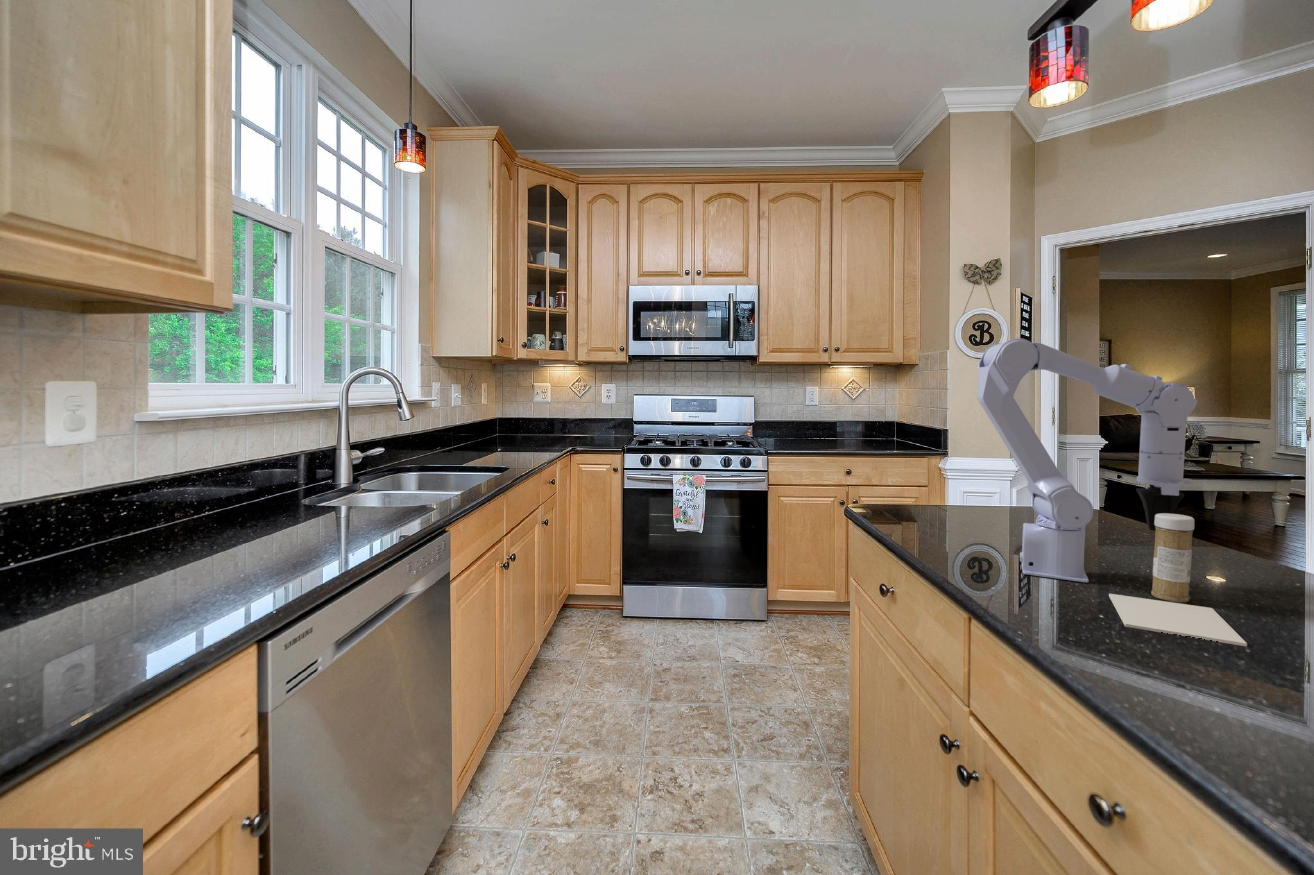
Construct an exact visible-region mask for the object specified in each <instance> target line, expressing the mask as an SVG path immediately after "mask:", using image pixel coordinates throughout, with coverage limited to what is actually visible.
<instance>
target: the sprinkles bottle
mask: <svg viewBox="0 0 1314 875" xmlns="http://www.w3.org/2000/svg"><path fill="white" fill-rule="evenodd" d="M1154 525H1155V526H1156V527H1155V528H1156V531H1155V533H1154V534H1155V535H1154V551H1153V560H1152V586H1151V587H1152V588H1151V591H1150V592H1151V593H1150V594H1151V596H1153V597H1154V598H1156V599H1158V600H1159V599H1160V600H1162V601H1166V602H1173V603H1180V604H1183V603H1187V602H1189V601H1190V596H1189V595H1190V582H1191V573H1192V572H1191V571H1192V570H1191V569H1192V555H1193V554H1192V553H1193V549H1192V545H1193V533H1194V530H1195V518H1193V516H1189V515H1184V514H1180V513H1173V514H1168V513H1160V514H1156V515H1155V523H1154Z"/></svg>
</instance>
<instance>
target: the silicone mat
mask: <svg viewBox="0 0 1314 875" xmlns="http://www.w3.org/2000/svg"><path fill="white" fill-rule="evenodd" d="M1108 597H1109V599H1110V601H1111V602H1112V604H1113V606H1114V608H1115V610H1116V612H1117V613H1118V615H1119V618H1120V619H1121V621H1122V623H1123V625H1124V627H1126V628H1132V629H1138V630H1144V631H1151V632H1156V633H1161V632H1163V633H1162V634H1167V633H1168V635H1173V634H1177V635H1176V636H1179V635H1181V636H1180V637H1185V636H1191V637H1190V638H1192V637H1195V638H1194V639H1198V638H1202V639H1201V640H1204V639H1205V640H1206V641H1210V640H1212V641H1211V642H1216V641H1218V642H1217V643H1223V644H1227V645H1229V644H1230V645H1235V646H1241V647H1248V643H1247V642H1246V641H1245V640H1244V639H1243V638H1242V636H1240V635H1239V634H1238V633H1237V632H1236V631H1235V630H1234V629H1233V628H1232V626H1230V625H1229V623H1227V621H1225V619H1223V617H1221V616H1220V615H1219V613H1217V611H1215V609H1214V608H1212V607H1207V606H1200V605H1193V604H1192V605H1191V604H1186V603H1180V602H1171V601H1167V600H1159V599H1151V598H1143V597H1136V596H1128V595H1122V594H1116V593H1108ZM1205 640H1204V641H1205Z"/></svg>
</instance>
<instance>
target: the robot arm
mask: <svg viewBox="0 0 1314 875" xmlns="http://www.w3.org/2000/svg"><path fill="white" fill-rule="evenodd" d="M1133 368H1134V366H1133V365H1130V364H1128V363H1122V364H1120V365H1119V364H1111V365H1109V366H1106V367H1101V366H1099V365H1096V364H1094V363H1091V362H1088V361H1086V360H1085V359H1082V358H1079V357H1076V356H1074V355H1072V354H1069V353H1067V352H1065V351H1062V350H1059V349H1056V348H1054V347H1051V346H1049V345H1046V344H1043V343H1041V342H1036V341H1033V342H1031V341H1030V340H1028V339H1025V338H1020V337H1017V338H1011V339H1009V340H1006V341H1004V342H997V343H995V344H992V345H989V347H987V348H986V350H985V351H984V352H983V354H982V356H981V357H980V360H979V361H978V363H977V370H978V384H977V399H978V401H979V402H978V403H979V404H980V405H981V408H982V409H983V411H984V412H985V414H986V415H987V417H988V419H989V420H990V423H992V425H993V427H994V428H995V430H996V431H997V433H998V435H999V437H1000V439H1002V442H1003V443H1004V444H1005V446H1006V448H1007V450H1008V451H1009V453H1010V454H1011V456H1012V458H1013V459H1014V461H1015V463H1016V464H1017V466H1018V467H1019V469H1020V471H1021V472H1022V474H1023V476H1024V477H1025V479H1026V481H1027V490H1028V491H1029V493H1030V495H1031V506H1032V509H1033V510H1034V511H1035V513H1036V514H1037V517H1036V520H1035V523H1028V522H1023V524H1022V539H1021V540H1022V544H1021V546H1022V547H1021V551H1020V553H1019V562H1021V570H1022V572H1021V573H1022V574H1023V575H1028V576H1029V575H1030V576H1036V577H1044V578H1051V579H1058V580H1065V581H1073V582H1081V583H1089V581H1090V580H1089V578H1088V576H1087V573H1086V571H1085V569H1084V565H1085V564H1084V563H1085V562H1084V561H1085V543H1086V541H1085V540H1086V525H1088V524H1089V523H1090V521H1091V520H1092V518H1093V516H1094V506H1093V503H1092V502H1091V500H1090V499H1089V498H1087V497H1086V496H1085V495H1083V494H1081V493H1080V492H1078V491H1077V490H1076V488H1075V487H1074V485H1073V483H1071V482H1070V481H1069V480H1068V479H1067V478H1066V477H1065V476H1064V475H1063V474H1062V473H1061V472H1060V471H1059V469H1058V467H1057V465H1056V464H1055V463H1054V461H1053V459H1052V458H1051V456H1050V454H1049V453H1048V451H1047V449H1046V448H1045V447H1044V446H1045V445H1043V443H1042V441H1041V440H1040V439H1039V437H1038V435H1037V433H1036V432H1035V430H1034V429H1033V427H1032V426H1031V424H1030V422H1029V420H1028V419H1027V416H1025V413H1023V411H1022V409H1021V408H1020V405H1019V404H1018V403H1017V401H1016V399H1015V398H1014V396H1015V393H1016V391H1017V389H1018V387H1019V384H1020V382H1021V381H1022V379H1023V378H1024V377H1025V376H1026V375H1027V374H1028V373H1029V372H1030V371H1041V370H1045V371H1048V372H1051V373H1055V374H1056V375H1059V376H1063V377H1067V378H1070V379H1073V380H1077V381H1078V382H1079V381H1080V382H1083V383H1086V384H1089V385H1091V387H1092V389H1093V390H1094V393H1095V394H1096V395H1098V396H1100V397H1103V398H1105V399H1109V400H1111V401H1114V402H1117V403H1119V404H1122V405H1125V406H1128V407H1131V408H1133V409H1135V410H1136V412H1138V413H1139V414H1141V417H1140V418H1141V419H1140V420H1141V421H1140V436H1139V456H1138V457H1139V458H1138V476H1136V482H1138V483H1141V484H1145V485H1149V486H1148V487H1147V488H1144V487H1143V488H1140V487H1138V488H1135V490H1136V493H1137V494H1138V496H1139V498H1140V500H1141V502H1142V506H1143V509H1144V510H1143V511H1144V515H1145V519H1146V524H1147V527H1148V529H1149V530H1150V531H1153V532H1156V528H1155V527H1156V526H1155V525H1154V523H1155V515H1156V514H1160V513H1168V514H1174V512H1175V510H1176V508H1177V507H1178V505H1179V504H1180V503H1181V501H1182V500H1183V499H1184V497H1185V494H1184V493H1182V491H1181V490H1180V487H1182V486H1184V485H1193V482H1194V481H1193V480H1192V479H1190V478H1184V470H1185V468H1184V466H1185V453H1186V452H1185V450H1186V436H1187V434H1186V433H1187V424H1188V417H1189V415H1190V414H1191V413H1192V412H1193V411H1194V410H1195V408H1196V407H1197V404H1198V399H1197V398H1195V397H1194V394H1193V392H1192V390H1190V388H1189V387H1188V386H1187V385H1185V384H1181V383H1177V382H1170V383H1169V382H1167V383H1164V381H1163V377H1162V376H1159V375H1152V376H1151V375H1147V374H1145V373H1142V372H1139V371H1136V370H1134V369H1133Z"/></svg>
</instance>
